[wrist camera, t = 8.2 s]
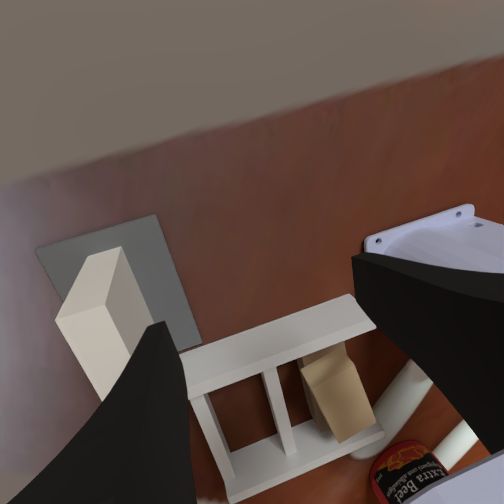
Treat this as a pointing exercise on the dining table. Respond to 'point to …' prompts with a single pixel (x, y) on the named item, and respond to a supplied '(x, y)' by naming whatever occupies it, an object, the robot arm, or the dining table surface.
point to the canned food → (404, 472)
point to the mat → (142, 265)
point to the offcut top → (339, 394)
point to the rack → (273, 395)
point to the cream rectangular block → (104, 317)
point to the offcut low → (310, 398)
